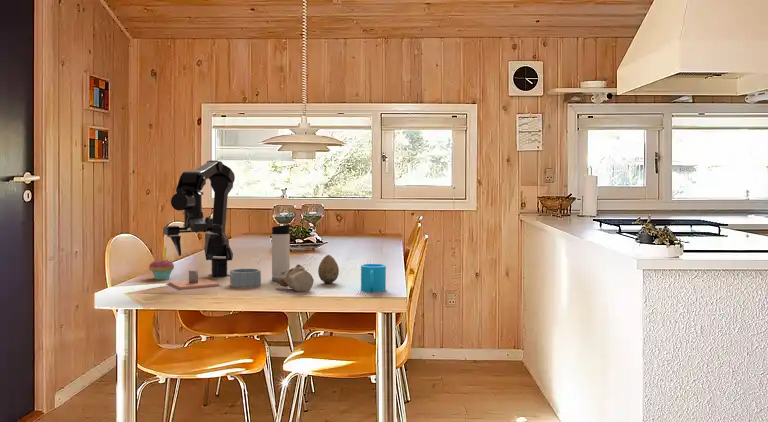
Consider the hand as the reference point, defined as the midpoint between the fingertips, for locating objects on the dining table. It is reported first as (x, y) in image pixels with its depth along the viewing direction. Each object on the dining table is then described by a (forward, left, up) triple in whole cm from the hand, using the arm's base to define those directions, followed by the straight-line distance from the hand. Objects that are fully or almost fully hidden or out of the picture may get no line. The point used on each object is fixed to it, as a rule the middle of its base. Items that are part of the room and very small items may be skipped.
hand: (193, 255), depth 239 cm
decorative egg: (+18, +42, -11) cm, 47 cm away
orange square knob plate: (0, 0, -10) cm, 10 cm away
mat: (0, 0, -11) cm, 11 cm away
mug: (+39, +47, -11) cm, 62 cm away
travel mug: (+3, +31, -11) cm, 33 cm away
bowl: (+9, +15, -11) cm, 20 cm away
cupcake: (-20, -5, -11) cm, 23 cm away
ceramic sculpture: (+24, +27, -11) cm, 38 cm away
